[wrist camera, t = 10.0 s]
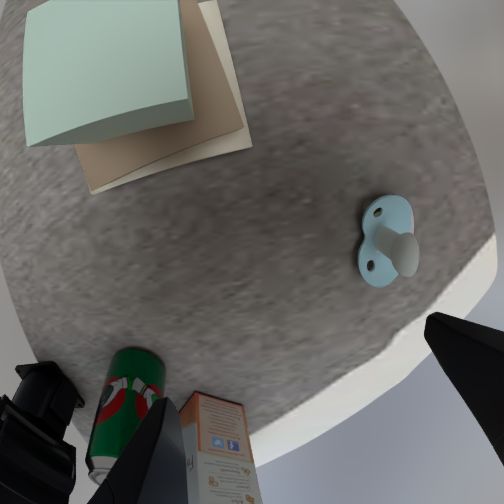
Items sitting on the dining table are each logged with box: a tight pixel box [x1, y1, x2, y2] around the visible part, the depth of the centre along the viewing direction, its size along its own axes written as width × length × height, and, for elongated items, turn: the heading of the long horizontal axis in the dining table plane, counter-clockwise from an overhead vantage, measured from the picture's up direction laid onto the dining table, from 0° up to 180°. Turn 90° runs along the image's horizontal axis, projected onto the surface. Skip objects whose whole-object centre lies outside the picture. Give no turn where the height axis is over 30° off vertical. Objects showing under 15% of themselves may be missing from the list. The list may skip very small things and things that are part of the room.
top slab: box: [74, 0, 244, 191], centre depth 12 cm, size 8×8×3 cm
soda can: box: [85, 350, 166, 486], centre depth 17 cm, size 5×5×12 cm
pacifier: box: [358, 195, 419, 287], centre depth 19 cm, size 7×6×6 cm
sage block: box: [23, 0, 195, 147], centre depth 8 cm, size 5×5×6 cm
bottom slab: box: [87, 0, 253, 195], centre depth 15 cm, size 10×10×3 cm
